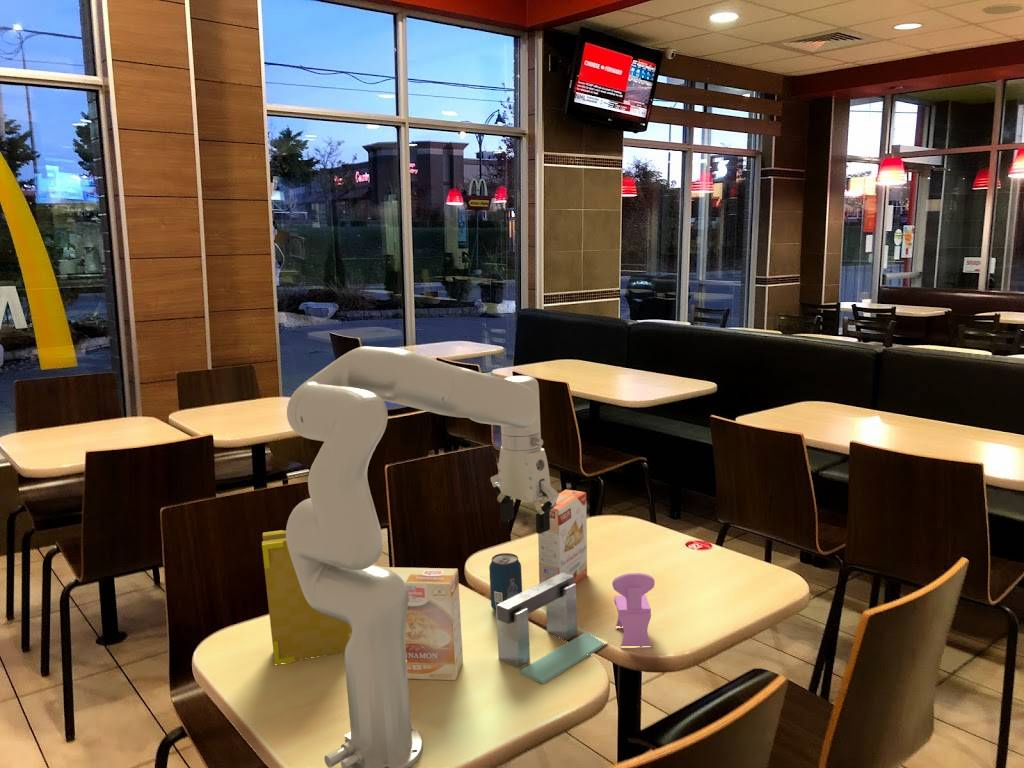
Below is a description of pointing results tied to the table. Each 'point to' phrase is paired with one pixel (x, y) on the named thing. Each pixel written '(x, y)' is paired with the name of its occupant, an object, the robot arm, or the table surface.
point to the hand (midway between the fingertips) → (525, 525)
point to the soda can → (504, 578)
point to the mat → (562, 658)
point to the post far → (563, 614)
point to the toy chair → (633, 607)
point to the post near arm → (514, 639)
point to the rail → (534, 597)
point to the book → (296, 610)
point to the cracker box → (565, 538)
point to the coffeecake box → (432, 623)
